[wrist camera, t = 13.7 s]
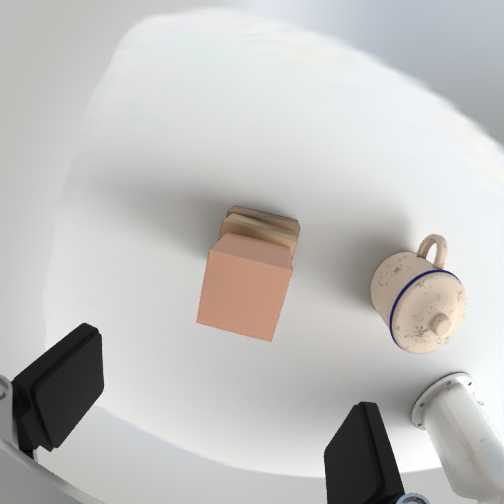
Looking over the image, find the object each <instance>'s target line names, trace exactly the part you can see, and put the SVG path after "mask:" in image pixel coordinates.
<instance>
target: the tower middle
mask: <svg viewBox="0 0 504 504" xmlns="http://www.w3.org/2000/svg"><path fill="white" fill-rule="evenodd" d="M227 232H231V233H235V234H239V235H243V236H247V237H251V238H255V239H259V240H263V241H267V242H271V243H275V244H279V245H283V246H287V247H290V253H291V260H292V257H293V254H294V251H295V248H296V245H297V239H296V236H295V232H294V231H291V230H288V229H285V228H282V227H279V226H275V225H272V224H269V223H265V222H262V221H259V220H255V219H252V218H249V217H245V216H242V215H239V214H235V213H233V214H231V215H230V216H228V217H227V218H225V219H224V220H223V223H222V227H221V231H220V234H219V238H218V241H219V240H220V239H221V238H222V237H223V236H224V235H225V234H226V233H227Z"/></svg>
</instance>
